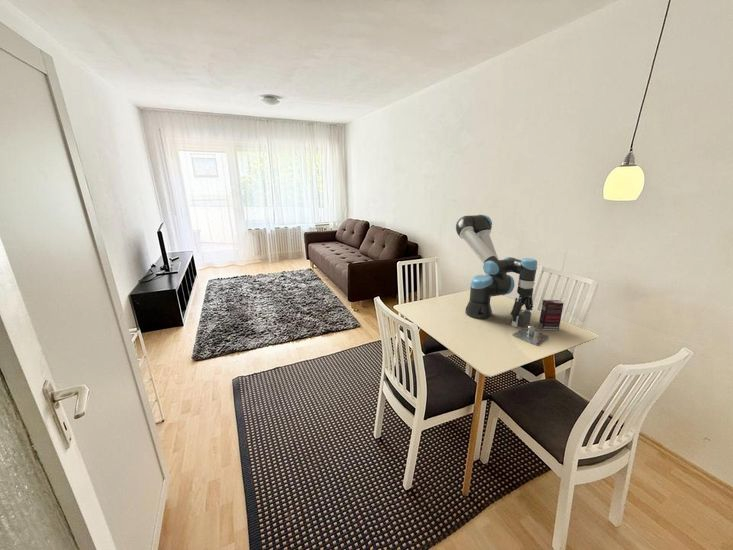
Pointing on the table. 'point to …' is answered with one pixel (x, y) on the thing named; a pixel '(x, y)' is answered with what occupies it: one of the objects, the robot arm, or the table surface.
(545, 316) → the supplement box
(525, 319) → the grey cube
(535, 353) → the table surface
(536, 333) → the hub
